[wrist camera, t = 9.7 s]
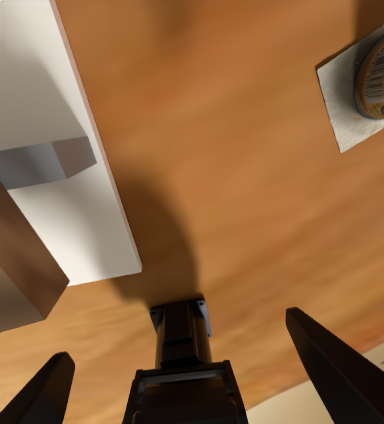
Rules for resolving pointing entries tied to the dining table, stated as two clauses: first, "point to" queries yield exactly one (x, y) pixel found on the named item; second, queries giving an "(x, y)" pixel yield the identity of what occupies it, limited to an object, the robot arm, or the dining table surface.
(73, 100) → the balance stand
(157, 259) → the dining table surface
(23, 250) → the walnut bar
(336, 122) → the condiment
